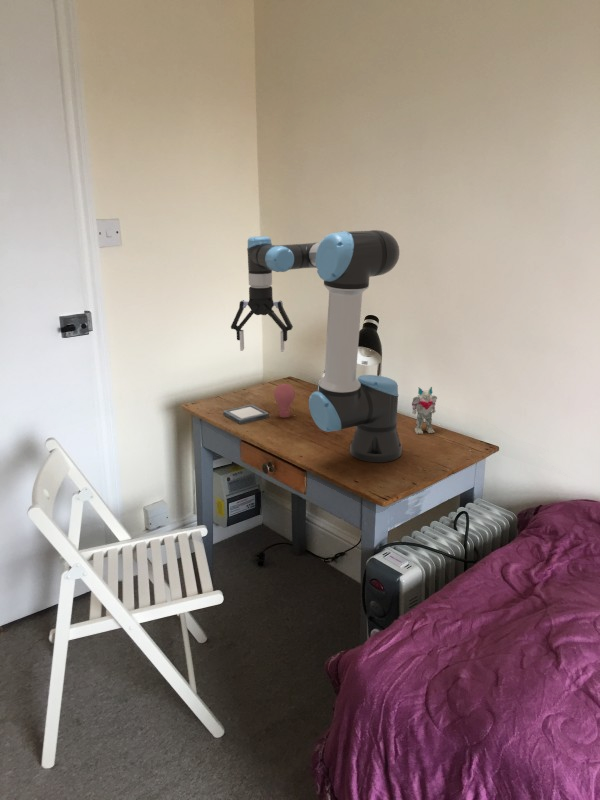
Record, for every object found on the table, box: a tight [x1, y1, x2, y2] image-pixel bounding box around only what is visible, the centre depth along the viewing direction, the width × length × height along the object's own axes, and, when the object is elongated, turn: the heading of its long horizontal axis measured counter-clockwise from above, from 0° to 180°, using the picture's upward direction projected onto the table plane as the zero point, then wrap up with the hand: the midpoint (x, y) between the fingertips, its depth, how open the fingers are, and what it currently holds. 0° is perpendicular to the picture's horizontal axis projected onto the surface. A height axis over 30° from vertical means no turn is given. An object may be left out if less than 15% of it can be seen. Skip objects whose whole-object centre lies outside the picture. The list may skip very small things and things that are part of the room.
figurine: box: [411, 386, 438, 435], centre depth 208 cm, size 8×8×15 cm
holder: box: [222, 403, 270, 425], centre depth 224 cm, size 12×12×2 cm
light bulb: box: [273, 383, 296, 418], centre depth 221 cm, size 7×7×12 cm
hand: (262, 350), depth 216 cm, fingers open, 13 cm apart
